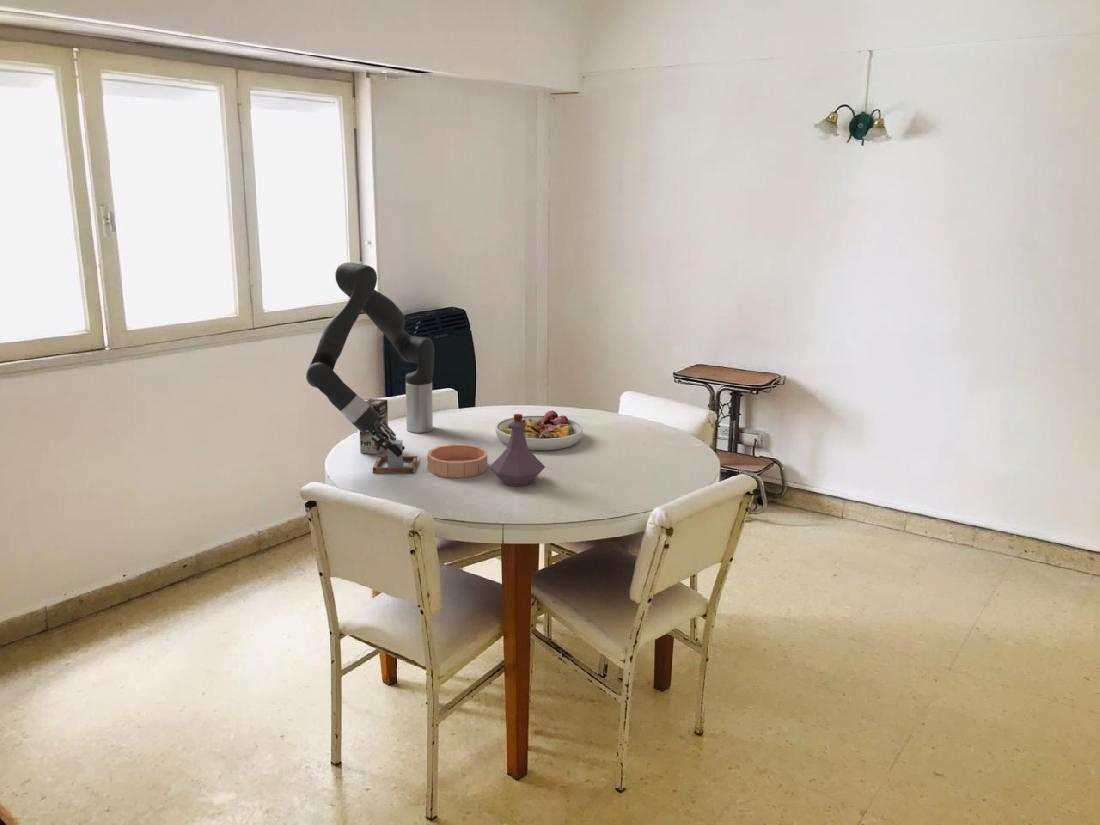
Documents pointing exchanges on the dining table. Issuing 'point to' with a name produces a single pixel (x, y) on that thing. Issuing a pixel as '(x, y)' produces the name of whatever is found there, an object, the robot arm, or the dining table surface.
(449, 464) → the bowl
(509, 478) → the flask
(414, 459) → the tray frame
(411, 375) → the robot arm
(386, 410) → the coffee box
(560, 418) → the bowl
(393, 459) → the block
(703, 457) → the dining table surface
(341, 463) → the dining table surface
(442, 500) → the dining table surface
